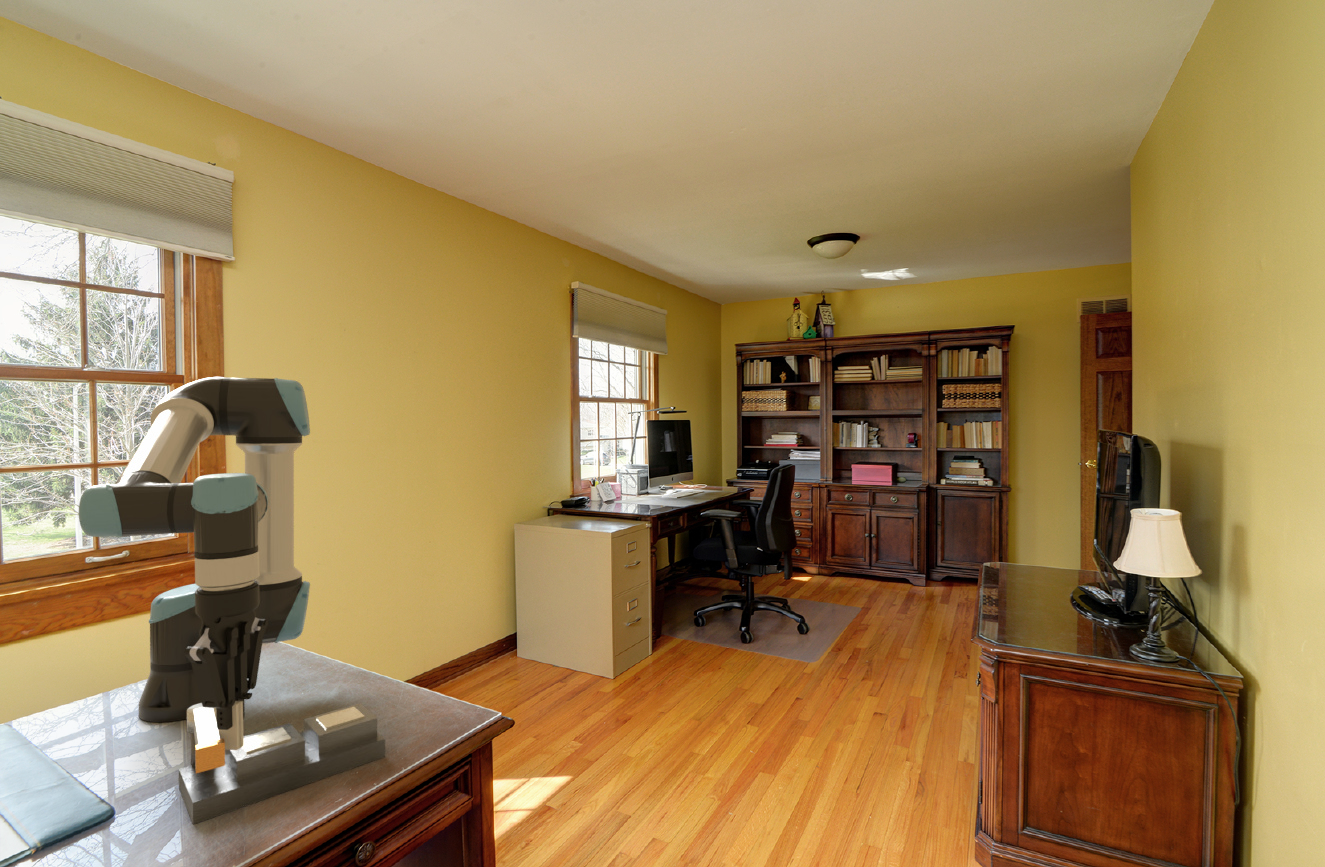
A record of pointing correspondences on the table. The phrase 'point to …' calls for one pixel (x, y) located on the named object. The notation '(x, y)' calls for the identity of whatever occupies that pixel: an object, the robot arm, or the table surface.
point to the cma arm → (205, 738)
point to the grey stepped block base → (282, 761)
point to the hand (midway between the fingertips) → (231, 747)
